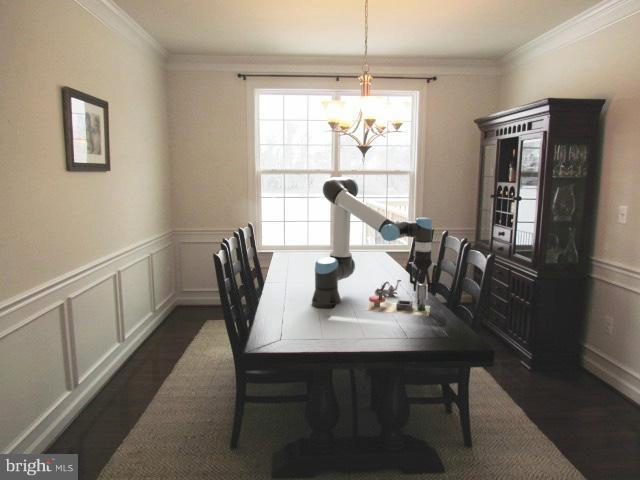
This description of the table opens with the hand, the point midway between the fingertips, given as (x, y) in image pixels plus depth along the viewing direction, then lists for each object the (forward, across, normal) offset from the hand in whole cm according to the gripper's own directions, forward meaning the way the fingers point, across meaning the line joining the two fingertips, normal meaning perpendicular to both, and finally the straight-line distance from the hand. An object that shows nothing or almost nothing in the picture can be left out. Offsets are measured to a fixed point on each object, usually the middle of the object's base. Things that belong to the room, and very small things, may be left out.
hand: (421, 297), depth 219 cm
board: (+8, -11, 0) cm, 13 cm away
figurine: (+8, -19, +20) cm, 29 cm away
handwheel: (+6, -22, 0) cm, 22 cm away
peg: (+5, 0, 0) cm, 5 cm away
